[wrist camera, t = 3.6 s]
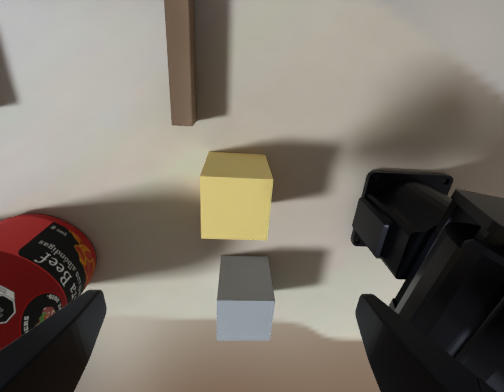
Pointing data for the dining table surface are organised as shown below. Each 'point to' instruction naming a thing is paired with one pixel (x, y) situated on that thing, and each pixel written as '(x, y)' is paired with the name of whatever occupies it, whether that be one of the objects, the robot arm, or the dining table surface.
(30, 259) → the canned food
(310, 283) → the dining table surface
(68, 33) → the dining table surface
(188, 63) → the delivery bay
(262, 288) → the grey block
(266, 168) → the ochre block
